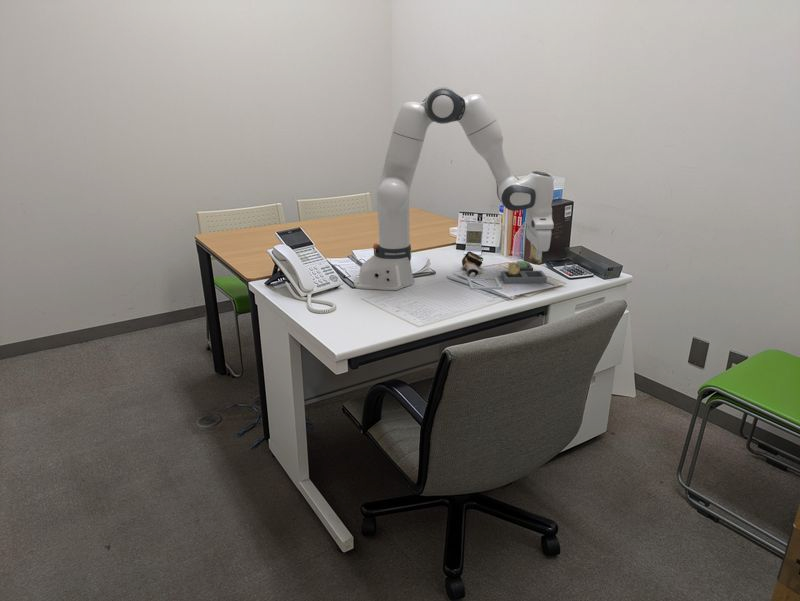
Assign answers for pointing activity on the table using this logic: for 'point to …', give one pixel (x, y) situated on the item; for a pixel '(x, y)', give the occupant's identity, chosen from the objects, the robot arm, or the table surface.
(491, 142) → the robot arm
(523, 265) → the button
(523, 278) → the compartment tray
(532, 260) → the cylinder
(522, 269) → the button housing
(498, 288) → the grey square tray
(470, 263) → the figurine
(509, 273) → the billet
